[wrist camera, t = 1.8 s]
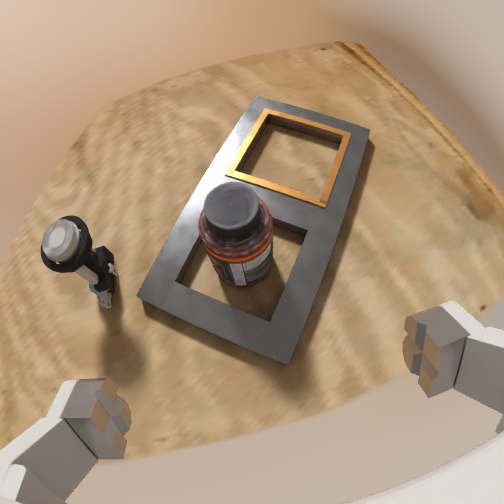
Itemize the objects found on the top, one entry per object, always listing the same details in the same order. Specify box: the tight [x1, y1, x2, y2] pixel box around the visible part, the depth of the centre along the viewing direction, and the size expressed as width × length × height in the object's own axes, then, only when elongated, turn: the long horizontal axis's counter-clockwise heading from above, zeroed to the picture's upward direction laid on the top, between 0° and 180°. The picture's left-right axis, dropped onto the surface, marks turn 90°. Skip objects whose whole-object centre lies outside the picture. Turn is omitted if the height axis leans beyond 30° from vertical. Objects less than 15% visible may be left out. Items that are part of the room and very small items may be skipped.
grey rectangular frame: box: [137, 97, 370, 365], centre depth 35 cm, size 16×30×2 cm, turn 156°
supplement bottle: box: [198, 182, 273, 287], centre depth 28 cm, size 6×6×11 cm
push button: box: [41, 216, 117, 309], centre depth 28 cm, size 7×5×10 cm
